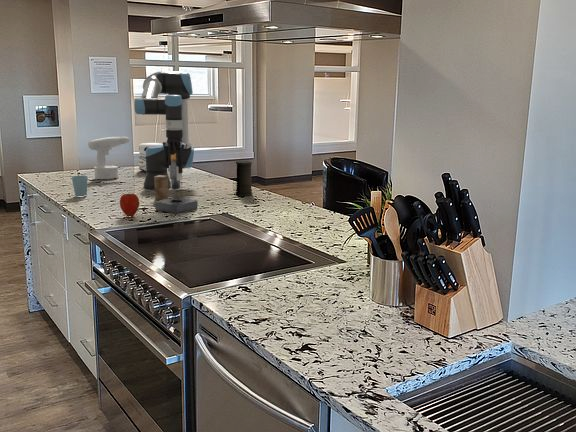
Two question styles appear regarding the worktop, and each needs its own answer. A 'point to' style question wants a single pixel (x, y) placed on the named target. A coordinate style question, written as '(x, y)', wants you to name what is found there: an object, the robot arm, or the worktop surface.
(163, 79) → the robot arm
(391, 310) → the worktop surface
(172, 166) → the round bit
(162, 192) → the square bit
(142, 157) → the milk container
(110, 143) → the power drill
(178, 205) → the holder plate
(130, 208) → the apple
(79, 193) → the cup
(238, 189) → the container
